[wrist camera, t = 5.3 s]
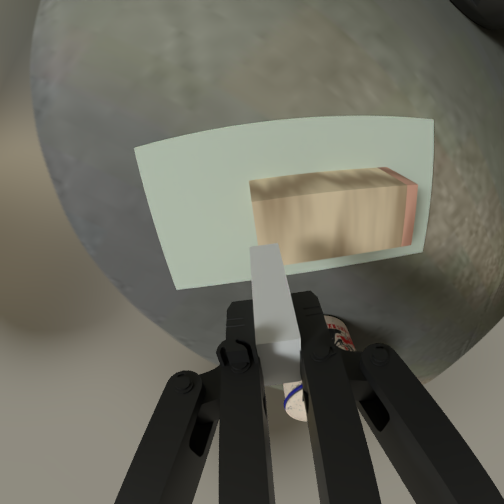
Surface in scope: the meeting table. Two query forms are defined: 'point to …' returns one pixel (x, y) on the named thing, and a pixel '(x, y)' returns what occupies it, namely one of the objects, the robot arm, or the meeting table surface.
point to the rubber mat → (266, 166)
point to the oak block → (334, 212)
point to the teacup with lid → (295, 389)
